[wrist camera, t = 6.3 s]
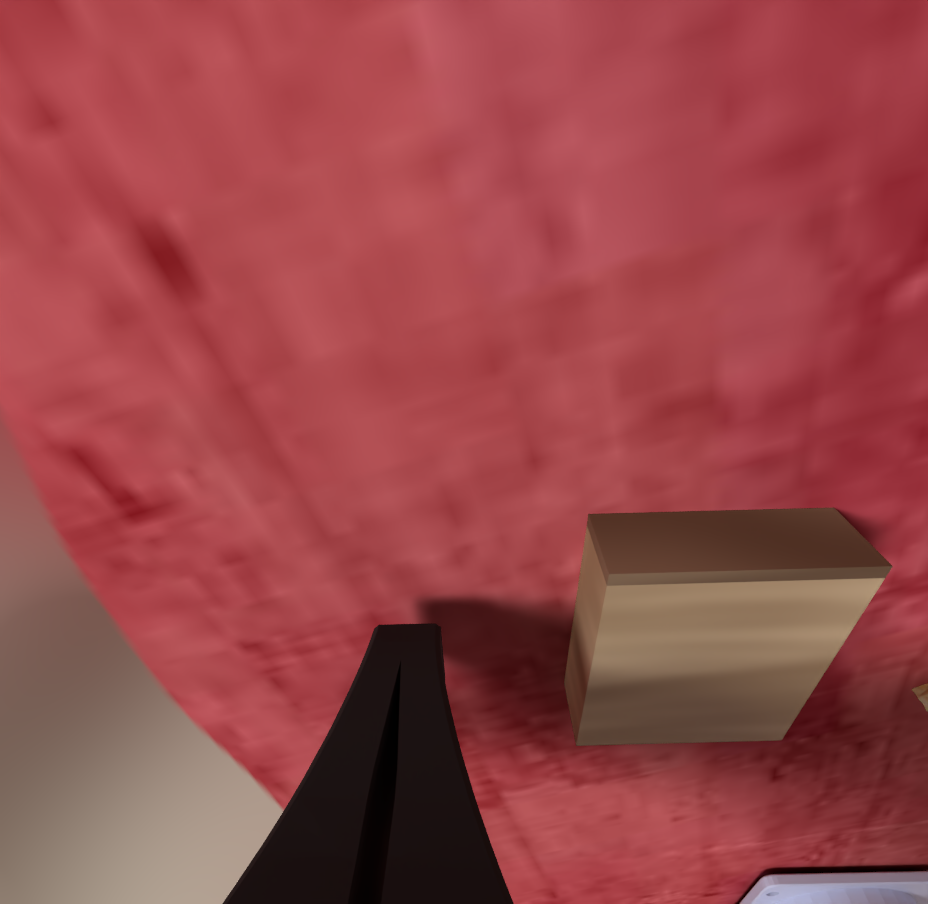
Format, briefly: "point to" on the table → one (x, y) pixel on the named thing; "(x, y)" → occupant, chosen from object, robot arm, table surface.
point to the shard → (922, 694)
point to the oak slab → (710, 621)
